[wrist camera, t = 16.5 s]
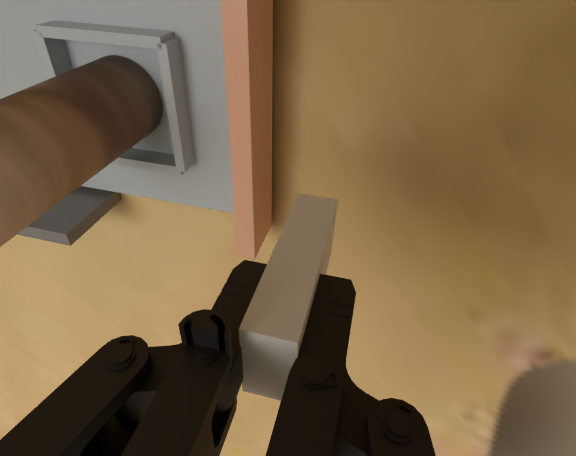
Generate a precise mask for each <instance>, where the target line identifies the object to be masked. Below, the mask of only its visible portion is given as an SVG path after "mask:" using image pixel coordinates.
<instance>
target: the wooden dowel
mask: <svg viewBox="0 0 576 456" xmlns="http://www.w3.org/2000/svg"><path fill="white" fill-rule="evenodd" d="M162 111H163V107H162V100H161V97H160V93H159V91H158V89H157V87H156V85H155V83H154V81H153V80H152V79H151V77H150V76H149V75H148V74H147V72H146V71H145V70H144V69H143V68H142V67H140V66H139V65H138V64H136V63H135V62H133V61H132V60H130V59H128V58H125V57H122V56H118V55H108V56H104V57H102V58H99V59H97V60H94V61H92V62H89V63H87V64H85V65H82V66H80V67H77V68H75V69H72V70H70V71H67V72H65V73H63V74H60V75H58V76H55V77H53V78H50V79H48V80H45V81H43V82H41V83H38V84H36V85H33V86H31V87H28V88H26V89H24V90H21V91H19V92H16V93H14V94H11V95H9V96H6V97H4V98H2V99H0V247H1V246H2V245H3V244H5V243H6V242H7V241H9V240H10V239H11V238H13V237H14V236H15V235H17V234H18V233H19V232H21V231H22V230H23V229H25V228H26V227H27V226H28V225H30V224H31V223H32V222H34V221H35V220H36V219H38V218H39V217H40V216H42V215H43V214H44V213H46V212H47V211H48V210H50V209H51V208H52V207H54V206H55V205H56V204H57V203H59V202H60V201H61V200H63V199H64V198H65V197H67V196H68V195H69V194H71V193H72V192H73V191H75V190H76V189H77V188H79V187H80V186H81V185H83V184H84V183H85V182H86V181H88V180H89V179H90V178H92V177H93V176H94V175H96V174H97V173H98V172H100V171H101V170H102V169H104V168H105V167H106V166H108V165H109V164H110V163H112V162H113V161H114V160H116V159H117V158H118V157H119V156H121V155H122V154H123V153H125V152H126V151H127V150H129V149H130V148H131V147H133V146H134V145H135V144H137V143H138V142H139V141H141V140H142V139H143V138H145V137H146V136H147V135H148V134H150V133H151V132H152V131H154V130H155V129H156V128H157V127H158V125H159V123H160V121H161V118H162Z"/></svg>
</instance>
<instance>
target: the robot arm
mask: <svg viewBox="0 0 576 456" xmlns="http://www.w3.org/2000/svg"><path fill="white" fill-rule="evenodd" d="M337 203H338V199H332V198H326V197H319V196H313V195H307V194H301V193H298V195H297V197H296V200H295V202H294V204H293V207H292V209H291V211H290V213H289V216H288V218H287V220H286V222H285V225H284V227H283V229H282V232H281V234H280V236H279V238H278V241H277V243H276V245H275V248H274V250H273V252H272V254H271V257H270V259H269V261H268V264H263V263H258V262H253V261H248V260H244V261H243V262H241V263H240V264H239V265H238V266H236V267H235V268H234V269H233V270H232V272H231V274H230V276H229V278H228V280H227V283H225V285H224V287H223V289H222V292H221V293H220V295H219V296H218V298H217V300H216V302H215V304H214V306H213V308H212V309H211V310H205V309H204V310H200V311H195V312H193V313H191V314H189V315H187V316H186V317H184V319H183V320H182V321H181V322H180V323H179V324H178V325H179V330H180V334H181V339H182V343H181V344H177V345H171V346H157V347H148V345H147V343H146V342H145V341H144V340H143V339H142V338H140V337H136V336H133V335H131V336H121V337H118V338H116V339H113V340H111V341H110V342H108V343H107V344H105V345H104V346H102V347H101V348H100V349H99V350H98V351H97V352H96V353H95V354H94V355H93V356H92V357H90V358H89V359H88V360H87V361H86V362H85V363H84V364H83V365H82V366H81V367H79V368H78V369H77V370H76V371H75V372H74V373H73V374H72V375H71V376H70V377H69V378H67V379H66V380H65V381H64V382H63V383H62V384H61V385H60V386H59V387H58V388H57V389H55V390H54V391H53V392H52V393H51V394H50V395H49V396H48V397H47V398H46V399H45V400H43V401H42V402H41V403H40V404H39V405H38V406H37V407H36V408H35V409H34V410H33V411H31V412H30V413H29V414H28V415H27V416H26V417H25V418H24V419H23V420H22V421H21V422H19V423H18V424H17V425H16V426H15V427H14V428H13V429H12V430H11V431H10V432H9V433H7V434H6V435H5V436H4V437H3V438H2V439H1V440H0V456H219V455H220V452H221V450H222V447H223V444H224V441H225V439H226V436H227V433H228V430H229V428H230V425H231V422H232V419H233V417H234V414H235V411H236V406H237V394H238V391H239V389H240V386H241V383H242V387H243V391H246V392H250V393H254V394H258V395H262V396H265V397H269V398H273V399H277V400H281V403H280V407H279V410H278V414H277V417H276V421H275V425H274V428H273V432H272V435H271V439H270V442H269V446H268V449H267V453H266V456H436V455H435V452H434V448H433V445H432V441H431V437H430V434H429V430H428V427H427V425H426V422H425V420H424V418H423V416H422V415H421V414H420V413H419V412H418V411H417V410H416V408H415V407H414V406H412V405H410V404H408V403H407V402H405V401H403V400H399V399H394V398H389V399H383V400H380V401H379V400H377V399H375V398H374V397H372V396H370V395H369V394H367V393H365V392H364V391H362V390H361V389H360V388H358V387H357V386H356V385H355V384H354V382H353V381H352V380H351V378H350V376H349V375H348V372H347V369H346V355H347V349H348V342H349V335H350V329H351V322H352V316H353V309H354V302H355V296H356V292H355V289H354V286H353V284H352V281H351V280H350V279H345V278H339V277H334V276H329V275H326V272H327V268H328V264H329V260H330V256H331V249H332V241H333V233H334V226H335V218H336V210H337Z"/></svg>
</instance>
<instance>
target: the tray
mask: <svg viewBox="0 0 576 456" xmlns="http://www.w3.org/2000/svg"><path fill="white" fill-rule="evenodd" d="M108 55H118V56H122V57H125V58H128V59H130V60H132V61H133V62H135V63H136V64H138V65H139V66H140V67H142V68H143V69H144V70H145V71H146V72H147V74H148V75H149V76H150V77H151V79H152V80H153V81H154V83H155V85H156V87H157V89H158V91H159V93H160V97H161V100H162V107H163V111H162V118H161V121H160V123H159V125H158V127H157V128H156V129H155V130H154V131H152V132H151V133H150V134H148V135H147V136H146V137H145V138H143V139H142V140H141V141H139V142H138V143H137V144H135V145H134V146H133V147H131V148H130V149H129V150H127V151H126V152H125V153H123V154H122V155H121V156H119V157H118V158H117V159H116V160H114V161H113V162H112V163H110V164H109V165H108V166H106V167H105V168H104V169H102V170H101V171H100V172H98V173H97V174H96V175H94V176H93V177H92V178H90V179H89V180H88V181H86V182H85V183H84V184H83V185H81V186H85V187H90V188H96V189H102V190H107V191H113V192H118V193H124V194H130V195H135V196H141V197H146V198H152V199H158V200H163V201H169V202H174V203H180V204H186V205H191V206H197V207H203V208H208V209H214V210H219V211H225V212H231V213H235V229H236V244H237V256H240V257H245V258H250V259H255V258H256V255H257V253H258V251H259V249H260V247H261V245H262V243H263V241H264V239H265V237H266V235H267V233H268V231H269V229H270V227H271V225H272V98H273V0H0V99H2V98H4V97H6V96H9V95H11V94H14V93H16V92H19V91H21V90H24V89H26V88H28V87H31V86H33V85H36V84H38V83H41V82H43V81H45V80H48V79H50V78H53V77H55V76H58V75H60V74H63V73H65V72H67V71H70V70H72V69H75V68H77V67H80V66H82V65H85V64H87V63H89V62H92V61H94V60H97V59H99V58H102V57H104V56H108Z"/></svg>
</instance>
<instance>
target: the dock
mask: <svg viewBox="0 0 576 456" xmlns="http://www.w3.org/2000/svg"><path fill="white" fill-rule="evenodd" d="M120 200H121V197H120V194H119V193H118V192H113V191H107V190H102V189H96V188H90V187H85V186H80V187H79V188H77V189H76V190H75V191H73V192H72V193H71V194H69V195H68V196H67V197H65V198H64V199H63V200H61V201H60V202H59V203H57V204H56V205H55V206H54V207H52V208H51V209H50V210H48V211H47V212H46V213H44V214H43V215H42V216H40V217H39V218H38V219H36V220H35V221H34V222H32V223H31V224H30V225H28V226H27V227H26V228H25V229H23V230H22V231H21V232H19V233H18V235H22V236H27V237H32V238H36V239H41V240H46V241H51V242H55V243H60V244H65V245H70V246H71V245H72V244H73V243H74V242H75V241H76V240H77V239H79V238H80V237H81V236H82V235H83V234H84V233H85V232H86V231H87V230H88V229H89V228H91V227H92V226H93V225H94V224H95V223H96V222H97V221H98V220H99V219H100V218H101V217H103V216H104V215H105V214H106V213H107V212H108V211H109V210H110V209H111V208H112V207H113V206H115V205H116V204H117V203H118V202H119V201H120Z"/></svg>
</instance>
